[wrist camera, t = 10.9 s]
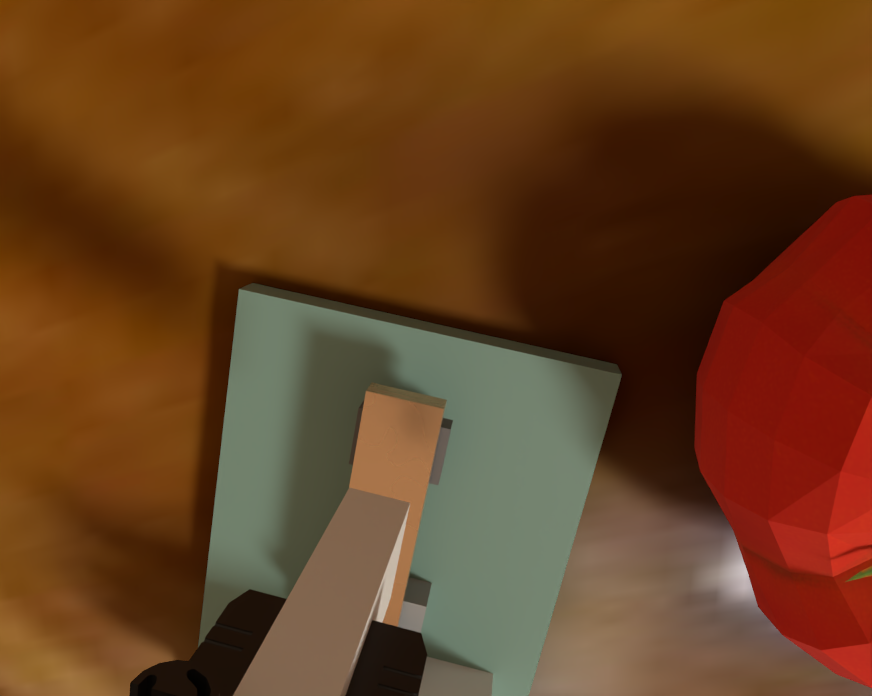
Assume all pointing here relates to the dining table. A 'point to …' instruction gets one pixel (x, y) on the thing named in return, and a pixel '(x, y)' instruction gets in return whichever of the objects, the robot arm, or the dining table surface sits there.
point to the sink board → (479, 477)
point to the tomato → (800, 436)
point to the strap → (398, 464)
